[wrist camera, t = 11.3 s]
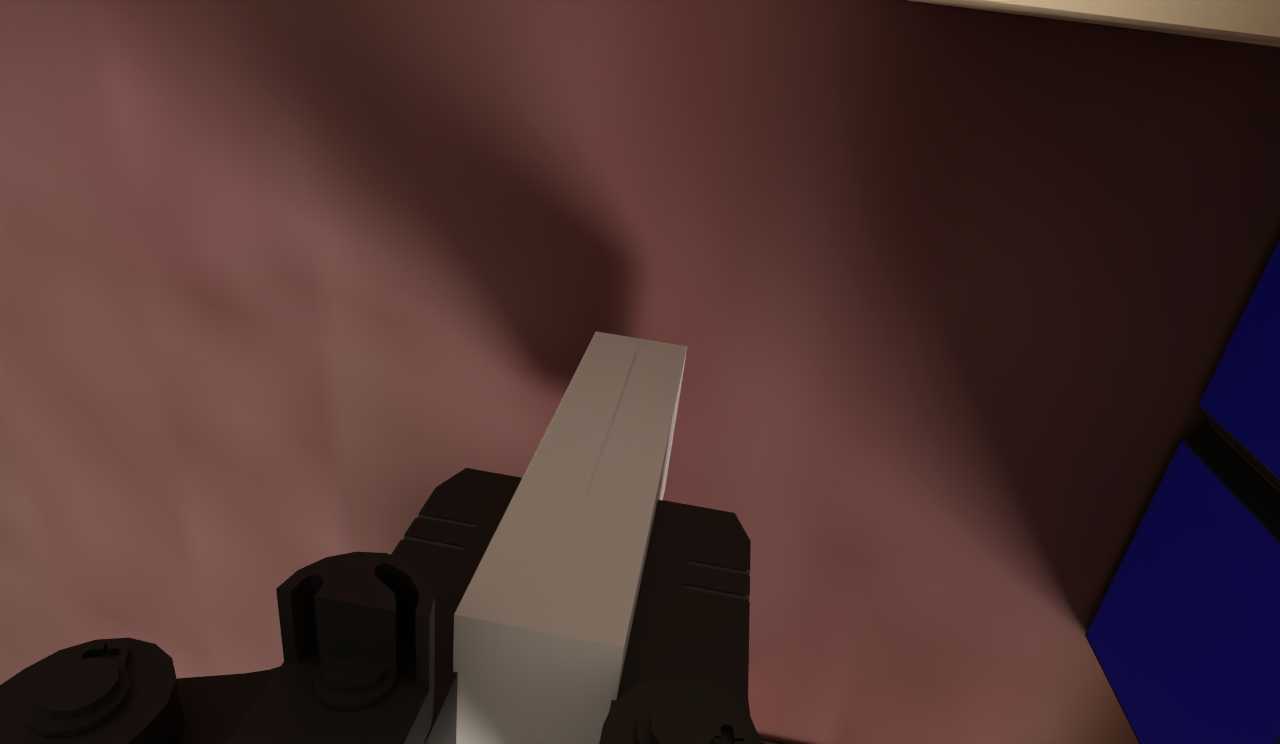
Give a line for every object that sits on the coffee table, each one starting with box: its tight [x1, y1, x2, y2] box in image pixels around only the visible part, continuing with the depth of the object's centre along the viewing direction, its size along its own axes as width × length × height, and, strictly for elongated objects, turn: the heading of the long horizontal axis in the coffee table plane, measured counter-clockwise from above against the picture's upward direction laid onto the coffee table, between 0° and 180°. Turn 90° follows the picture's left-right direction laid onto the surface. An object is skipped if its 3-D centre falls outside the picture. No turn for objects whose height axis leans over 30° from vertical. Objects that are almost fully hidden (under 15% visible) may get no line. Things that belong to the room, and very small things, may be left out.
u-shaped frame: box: [762, 0, 1280, 744], centre depth 13 cm, size 16×24×4 cm
